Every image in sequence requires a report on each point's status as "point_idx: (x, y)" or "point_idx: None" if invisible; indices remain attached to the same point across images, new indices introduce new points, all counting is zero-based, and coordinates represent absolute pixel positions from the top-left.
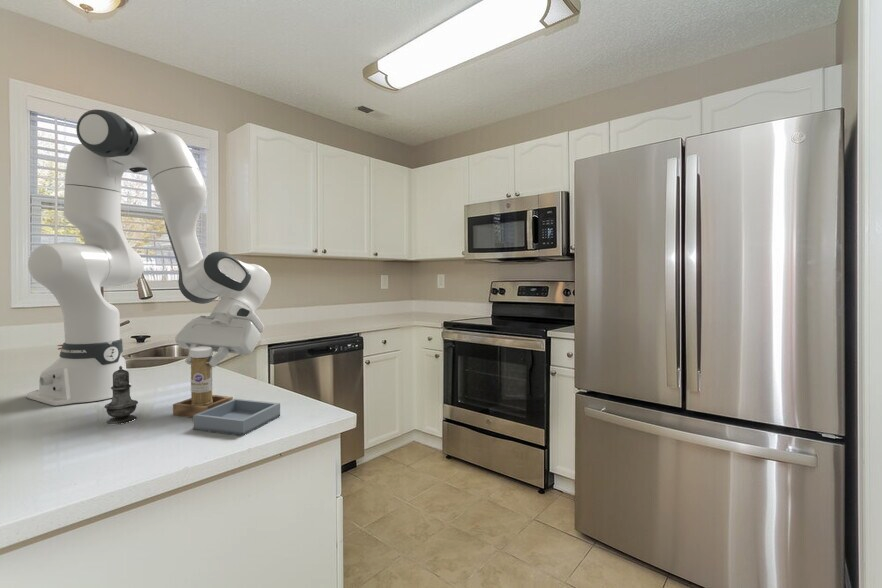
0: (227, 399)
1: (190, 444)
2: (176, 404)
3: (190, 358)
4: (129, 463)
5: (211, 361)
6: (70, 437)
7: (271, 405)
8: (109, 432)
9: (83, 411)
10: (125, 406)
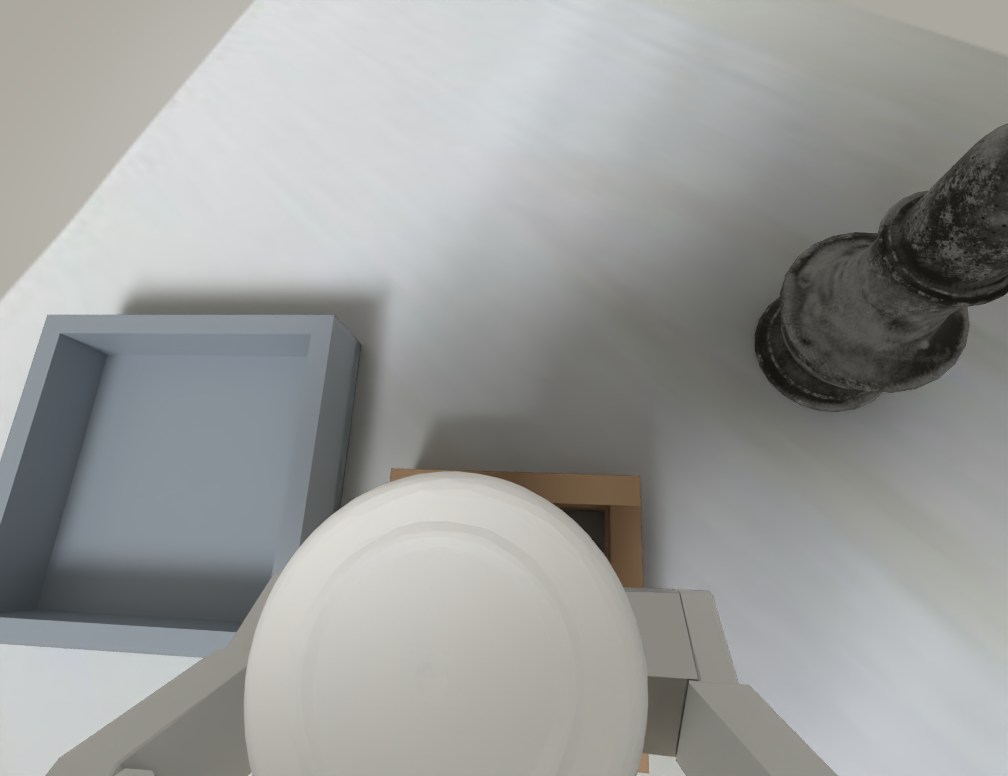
0: None
1: (267, 223)
2: (614, 478)
3: (644, 616)
4: (359, 69)
5: (271, 585)
6: (800, 141)
7: (5, 614)
8: (702, 220)
9: None
10: (791, 276)
